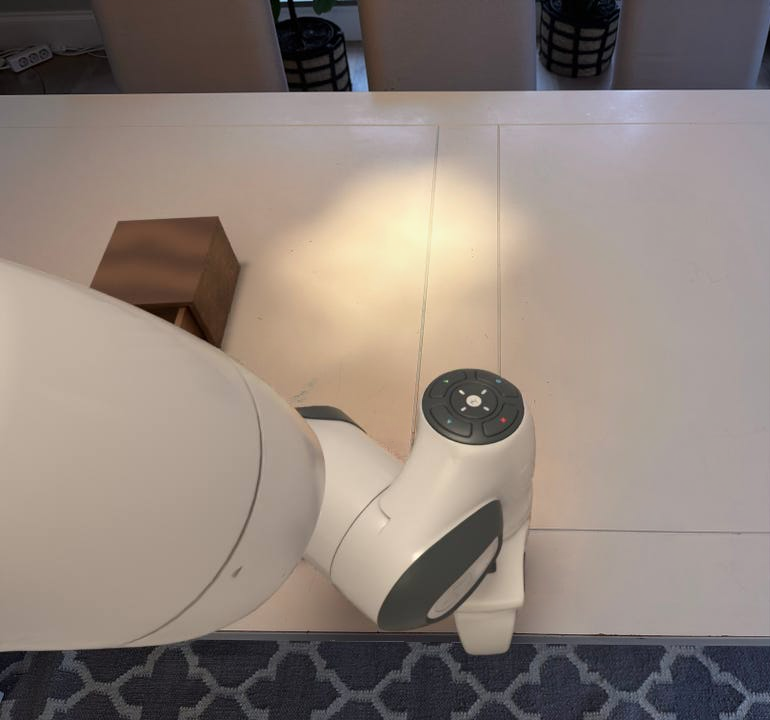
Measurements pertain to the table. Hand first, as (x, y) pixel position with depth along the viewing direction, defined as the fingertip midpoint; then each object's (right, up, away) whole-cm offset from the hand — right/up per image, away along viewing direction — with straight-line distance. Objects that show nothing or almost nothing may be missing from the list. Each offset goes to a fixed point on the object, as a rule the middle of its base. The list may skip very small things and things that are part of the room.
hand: (483, 564), depth 68 cm
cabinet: (-42, +28, +25) cm, 56 cm away
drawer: (-42, +19, +18) cm, 49 cm away
